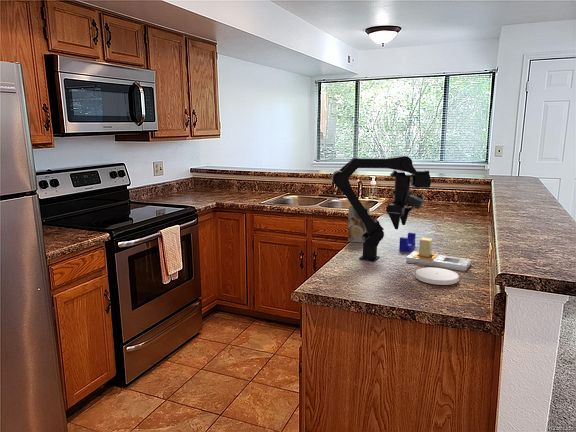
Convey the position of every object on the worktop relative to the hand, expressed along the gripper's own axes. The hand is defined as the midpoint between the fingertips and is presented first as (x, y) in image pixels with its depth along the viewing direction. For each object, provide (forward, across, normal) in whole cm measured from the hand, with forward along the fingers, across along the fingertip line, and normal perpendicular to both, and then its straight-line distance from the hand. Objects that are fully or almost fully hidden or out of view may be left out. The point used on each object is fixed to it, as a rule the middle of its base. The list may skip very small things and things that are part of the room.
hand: (400, 227), depth 171 cm
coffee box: (+13, +19, +25) cm, 34 cm away
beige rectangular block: (+13, +2, -10) cm, 16 cm away
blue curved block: (+13, +18, +1) cm, 22 cm away
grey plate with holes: (+13, +2, -15) cm, 20 cm away
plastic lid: (+14, -18, -19) cm, 30 cm away
